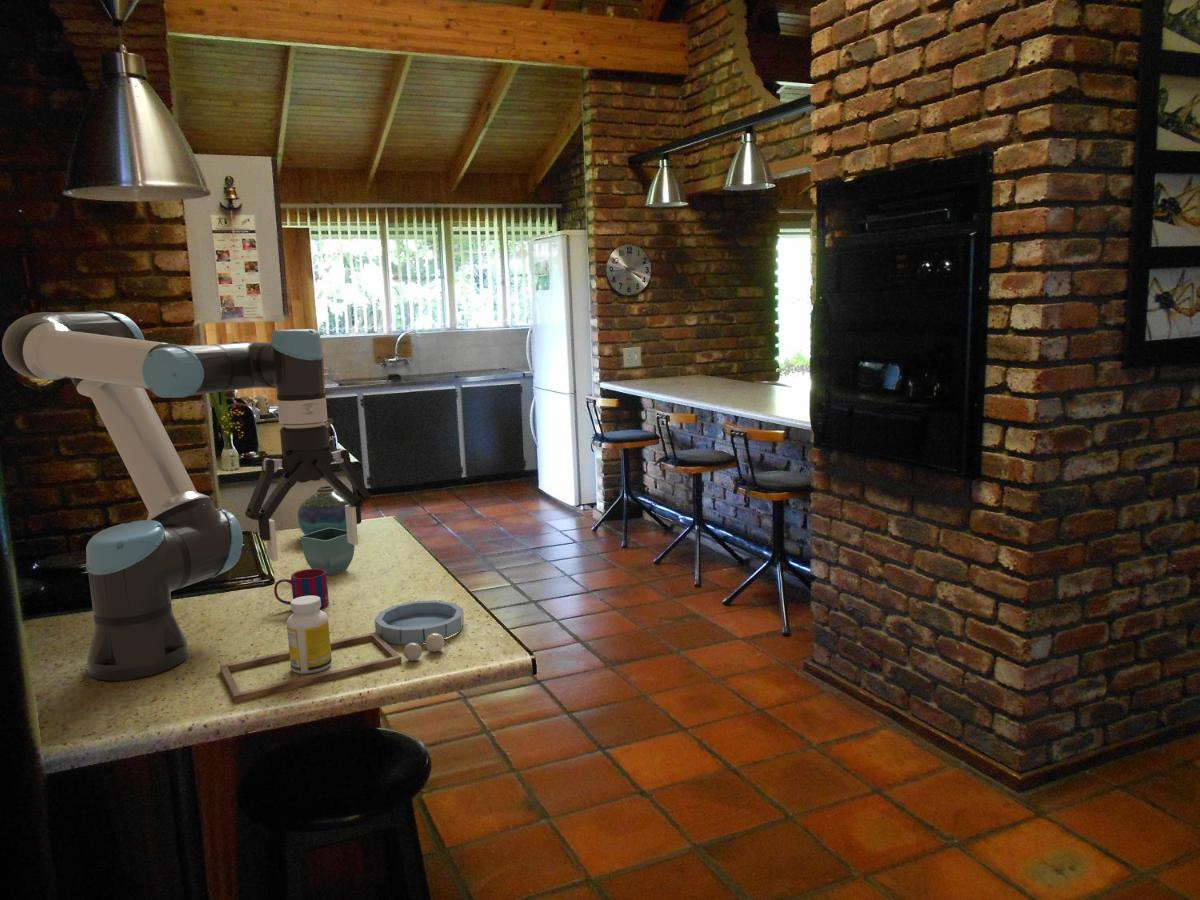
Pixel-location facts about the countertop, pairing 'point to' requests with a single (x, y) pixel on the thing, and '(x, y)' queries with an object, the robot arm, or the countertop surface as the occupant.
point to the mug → (307, 585)
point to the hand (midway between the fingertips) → (314, 551)
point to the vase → (322, 511)
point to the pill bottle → (308, 636)
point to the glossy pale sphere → (412, 651)
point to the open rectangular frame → (308, 680)
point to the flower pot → (328, 550)
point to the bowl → (418, 621)
